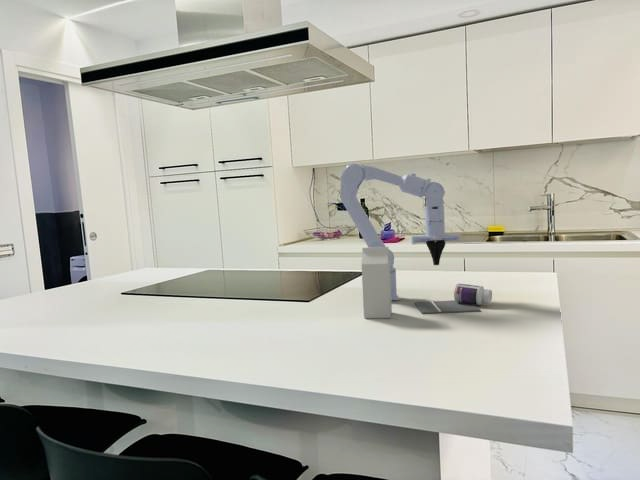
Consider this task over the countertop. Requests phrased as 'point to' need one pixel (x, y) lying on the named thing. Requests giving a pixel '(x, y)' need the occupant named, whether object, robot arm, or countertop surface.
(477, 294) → the pill bottle
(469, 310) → the mat
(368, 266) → the milk carton
